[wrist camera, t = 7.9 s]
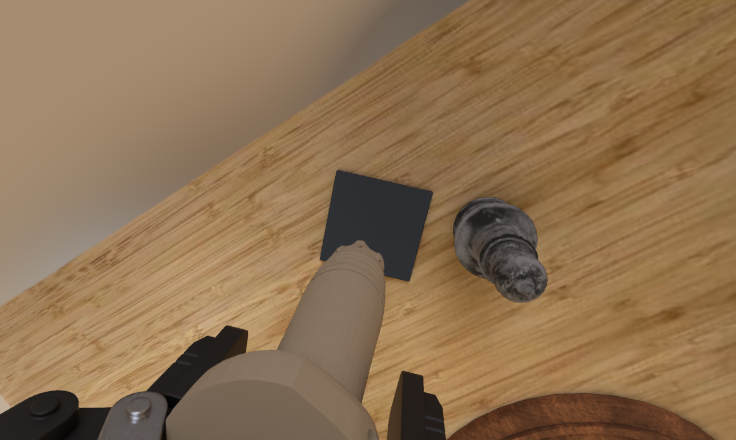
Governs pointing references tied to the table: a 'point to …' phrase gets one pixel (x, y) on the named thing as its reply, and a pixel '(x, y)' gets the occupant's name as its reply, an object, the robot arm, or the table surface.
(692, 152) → the table surface
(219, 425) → the handle
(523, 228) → the grey stone chess piece
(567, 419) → the cutting board
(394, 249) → the place mat
